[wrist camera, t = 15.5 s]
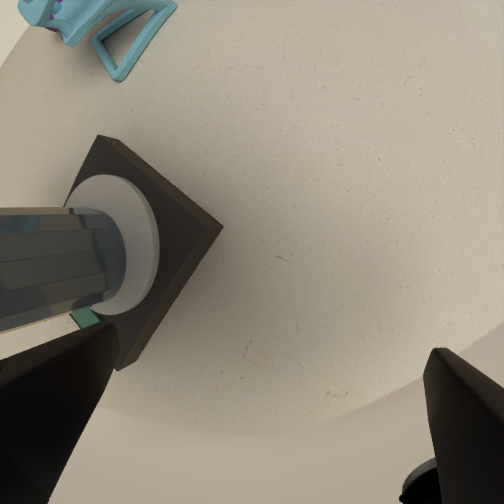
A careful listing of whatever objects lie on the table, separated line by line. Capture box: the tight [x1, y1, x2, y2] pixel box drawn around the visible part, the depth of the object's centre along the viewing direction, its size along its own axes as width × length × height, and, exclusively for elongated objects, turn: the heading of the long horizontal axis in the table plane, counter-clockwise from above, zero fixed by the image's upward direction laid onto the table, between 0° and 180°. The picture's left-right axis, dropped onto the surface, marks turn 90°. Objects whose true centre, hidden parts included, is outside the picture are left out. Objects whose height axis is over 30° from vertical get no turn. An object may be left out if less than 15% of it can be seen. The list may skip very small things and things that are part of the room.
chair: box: [18, 0, 177, 82], centre depth 17 cm, size 8×8×12 cm
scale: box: [63, 135, 224, 371], centre depth 23 cm, size 14×12×3 cm
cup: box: [0, 207, 126, 335], centre depth 15 cm, size 7×7×13 cm
